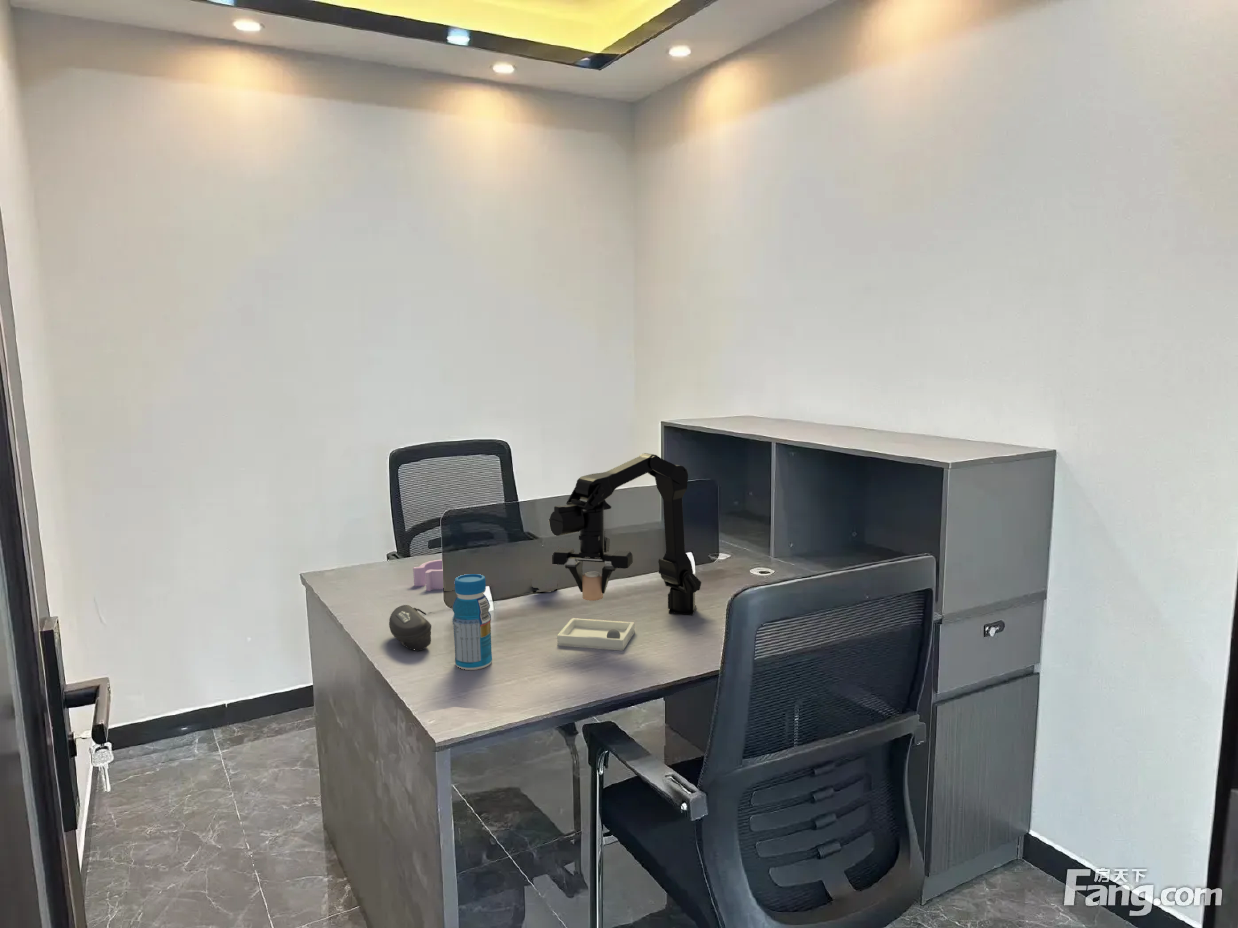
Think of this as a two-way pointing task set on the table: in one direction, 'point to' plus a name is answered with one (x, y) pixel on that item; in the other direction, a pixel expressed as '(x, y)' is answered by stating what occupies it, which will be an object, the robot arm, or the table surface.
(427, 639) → the glasses case
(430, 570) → the clip
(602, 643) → the tray
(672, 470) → the robot arm
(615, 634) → the ball
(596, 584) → the cylinder
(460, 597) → the beverage bottle
